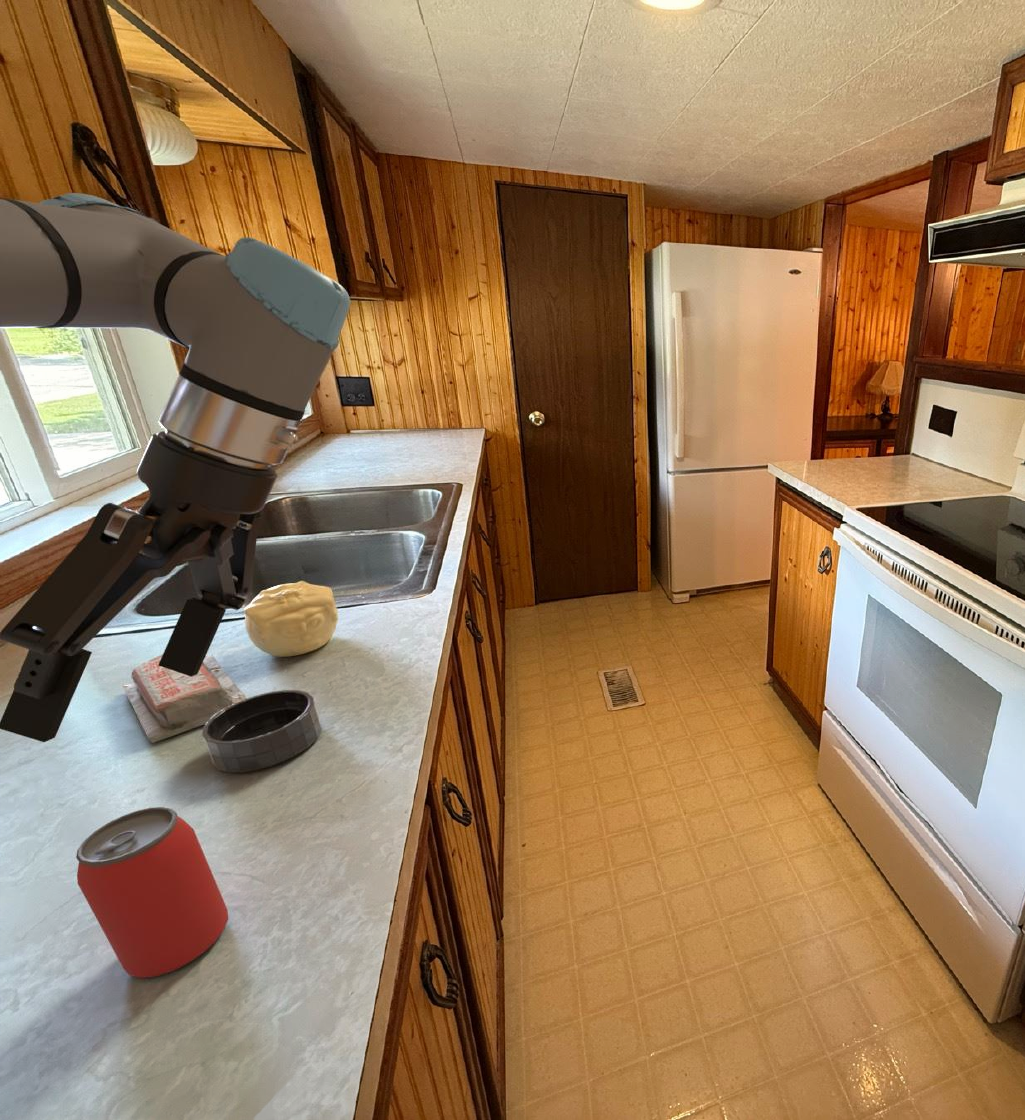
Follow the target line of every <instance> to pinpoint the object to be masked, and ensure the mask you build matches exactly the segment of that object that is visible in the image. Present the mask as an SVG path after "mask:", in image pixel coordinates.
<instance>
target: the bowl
mask: <svg viewBox="0 0 1025 1120" xmlns="http://www.w3.org/2000/svg"><path fill="white" fill-rule="evenodd" d="M246 698H247V697H246ZM321 732H322V722H321V718H320V715H319V712H318V709H317V705H316V702H315V698H314V697H313V695H311V694H310V693H309V692H306V691H304V690H298V689H283V690H275V691H269V692H265V693H261V694H256V695H253V696H251V697H248V698H247V699H245V700H242V701H240V702H237V703H235V704H233V705H231V706H229V707H227V708H225V709H223V710H222V711H220V712H219V713H217V714H216V715H215V716H213V717H212V718H211V719H210V720H209V721H208V722H207V723H206V724H204V725H203V727H202V731H201V737H202V740H203V742H204V745H205V747H206V750H207V752H208V755H209V757H210V760H211V763H212V764H213V765H214V767H215V768H216V769H217V770H220V771H223V772H226V773H246V772H252V771H253V772H254V771H258V770H259V771H260V770H263V769H267V768H270V767H272V766H276V765H278V764H282V763H283V762H285V761H288V760H290V759H292V758H294V757H295V756H297V755H298V754H300V753H301V752H303V751H304V750H306V749H308V748H309V747H310V746H311V745H312V744H313V743H314V742H316V740H317V739H318V737H319V736H320V734H321Z"/></svg>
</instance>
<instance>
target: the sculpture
mask: <svg viewBox="0 0 1025 1120" xmlns="http://www.w3.org/2000/svg"><path fill="white" fill-rule="evenodd" d="M243 614H244V626H245V630H246V634H247V635H248V639H249V640H250V641H251V643H253V645H254V646H255V647H256V648H257V649H259V650H260V651H261V652H263V653H265V654H267V655H270V656H273V657H278V658H279V657H280V658H288V657H295V656H301V655H305V654H307V653H310V652H314V651H316V650H317V649H320V648H321V647H323V646H324V645H326V644H327V643H328V642H329V641H330V639H331V638H332V637H333V635H334V634H335V631H336V627H337V624H338V620H339V612H338V607H337V605H336V602H335V599H334V594H333V590H332V588H331V587H329V586H325V585H318V584H311V583H309V582H306V581H304V580H300V581H298V582H293V583H284V584H278V585H276V586H273V587H270V588H266V589H263V590H261V591H260V592H259V593H258V594H257V595H256V596H255V597H254V598H253V599H252V601H251V602H250V603H249V604H247V606H246V607H245V608H244V609H243Z"/></svg>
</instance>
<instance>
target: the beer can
mask: <svg viewBox="0 0 1025 1120" xmlns="http://www.w3.org/2000/svg"><path fill="white" fill-rule="evenodd" d="M75 858H76V860H77V861H78V865H77V866H78V867H77V873H76V879H77V881H76V882H77V885H78V887H79V889H80V891H81V893H82V895H83V897H84V898H85V900H86V902H87V905H89V908H90V909H91V911H92V913H93V915H94V918H95V919H96V921H97V922H98V924H99V926H100V928H101V930H102V931H103V934H104V936H105V938H106V940H107V942H108V943H109V944H110V947H111V949H112V951H113V953H114V954H115V956H116V958H117V960H118V961H119V964H120V965H121V967H122V969H123V970H124V971H125V973H126V974H127V975H128V976H132V977H136V978H139V979H143V978H154V977H155V978H157V977H159V976H162V975H166V974H168V973H173V972H174V971H176V970H178V969H180V968H182V967H185V966H186V965H189V964H190V963H191V962H192V961H194V960H196V959H197V958H199V957H200V956H202V955H203V954H204V953H205V952H206V951H208V949H210V947H211V946H213V945H214V944H215V943H216V941H217V940H218V939H219V937H220V936H221V935H222V933H223V932H224V930H225V929H226V926H227V922H228V920H229V911H228V908H227V905H226V902H225V900H224V898H223V896H222V893H221V891H220V889H219V885H218V884H217V882H216V879H215V876H214V875H213V872H212V870H211V868H210V865H209V863H208V860H207V858H206V855H205V852H204V850H203V848H202V846H201V843H200V841H199V838H198V836H197V833H196V831H195V829H194V828H192V826H191V825H190V824H189V823H188V822H187V821H186V820H184V818H182V817H180V816H178V813H177V811H175V810H174V809H173V808H169V807H165V806H156V807H147V808H143V809H139V810H135V811H132V812H129V813H127V814H124V815H121V816H119V817H117V818H114V819H113V820H110V821H109V822H107V823H105V824H104V825H103V826H101V827H99V828H98V829H96V830H95V831H93V832H92V833H91V834H90V835H89V836H88V837H86V838H85V840H83V841H82V843H81V845H80V846H79V847H78V848H77V850H76V856H75Z"/></svg>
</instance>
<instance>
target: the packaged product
mask: <svg viewBox="0 0 1025 1120" xmlns="http://www.w3.org/2000/svg"><path fill="white" fill-rule="evenodd" d="M162 655H163V653H162V654H161V655H158V656H155V657H154V658H152V659H150V660H148V661H146V662H143V663H142V664H140V665H138V666H137V667H135V668H133V670H132V672H131V676H130V677H131V679H132V681H133V682H132V683H129V684H122V688H123V689H124V692H125V694H126V697H127V699H128V701H129V702H130V704H131V706H132V707H133V710H134V713H135V715H136V717H137V719H138V721H139V723H140V725H141V727H142V730H143V731H144V733H145V734H146V737H147V738H148V741H149V742H151V743H153V744H154V743H157V742H160V741H162V740H165V739H169V738H170V737H173V736H176V735H179V734H183V733H184V732H188V731H190V730H193V729H195V728H198V727H202V726H205V724H206V723H207V722H208V721H209V720H210V719H211V718H212V717H213V716H215V715H216V714H217V713H219V712H220V711H222V710H223V709H225V708H227V707H229V706H231V705H233V704H235V703H237V702H240V701H242V700H245V699H247V696H245V694H244V693H243V692H242V691H241V690H240V688H239V687H238V686H237V685H236V683H235V682H234V680H233V679H232V678H231V677H230V676H229V675H228V673H227V672H226V671H225V670H224V668H223V667H222V666H221V665H220V663H219V662H218V660H217V659H216V657H214V656H213V654H211V655H208V656H207V655H206V656H205V658H204V661H203V663H202V665H201V668H200V670H199V672H198V674H197V675H194V676H192V677H191V676H188V675H185V674H182V673H179V672H176V671H173V670H170V669H167V668H164V667H162V666H159V662H160V660H161V658H162Z"/></svg>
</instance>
